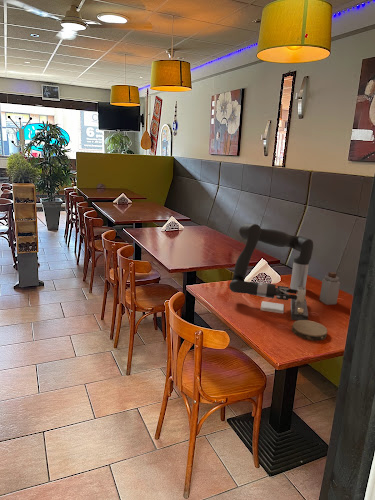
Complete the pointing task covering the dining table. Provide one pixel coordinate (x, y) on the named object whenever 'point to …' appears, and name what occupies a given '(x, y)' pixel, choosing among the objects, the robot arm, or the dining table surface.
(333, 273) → the perfume bottle
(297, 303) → the lever cap
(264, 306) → the rubber mat
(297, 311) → the hand plane
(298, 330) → the brown round disc
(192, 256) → the dining table surface
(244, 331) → the dining table surface
